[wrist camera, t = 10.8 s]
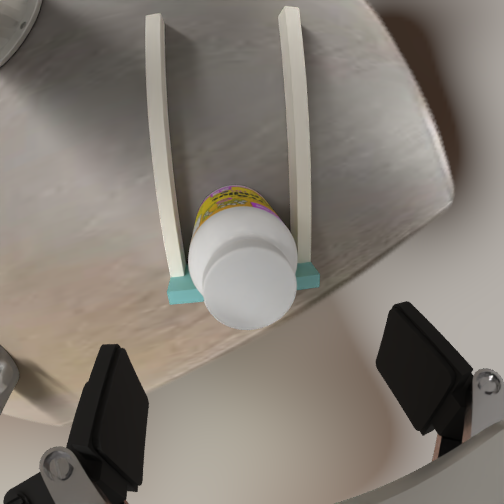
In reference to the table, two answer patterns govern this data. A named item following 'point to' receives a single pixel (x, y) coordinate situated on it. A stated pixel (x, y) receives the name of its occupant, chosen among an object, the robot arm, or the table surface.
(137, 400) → the robot arm
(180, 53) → the table surface
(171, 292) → the guide track
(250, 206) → the supplement bottle
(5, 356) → the coffee mug
